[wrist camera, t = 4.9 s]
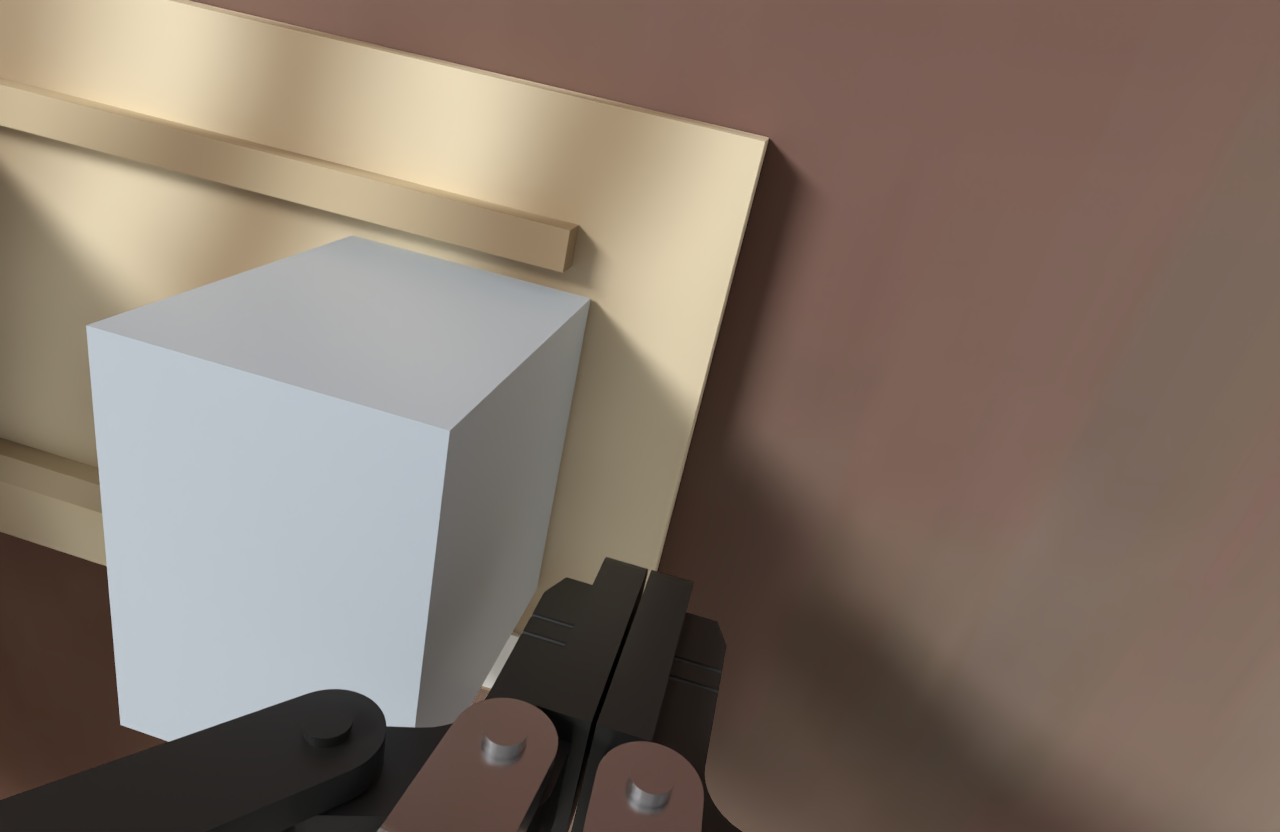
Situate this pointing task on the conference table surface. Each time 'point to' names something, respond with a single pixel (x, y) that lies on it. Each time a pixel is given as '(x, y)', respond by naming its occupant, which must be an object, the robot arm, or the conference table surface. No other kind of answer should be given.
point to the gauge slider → (327, 482)
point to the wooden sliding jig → (349, 231)
